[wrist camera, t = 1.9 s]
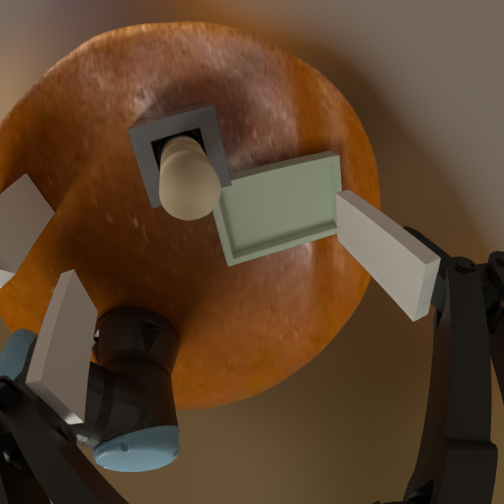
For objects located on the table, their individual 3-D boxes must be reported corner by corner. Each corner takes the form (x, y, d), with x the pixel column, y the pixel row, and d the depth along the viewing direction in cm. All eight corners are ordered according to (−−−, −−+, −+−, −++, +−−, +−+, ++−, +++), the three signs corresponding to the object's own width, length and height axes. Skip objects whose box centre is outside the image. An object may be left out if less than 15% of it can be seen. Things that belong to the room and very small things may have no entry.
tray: (224, 256, 46) (228, 266, 44) (204, 180, 40) (207, 187, 37) (335, 223, 48) (343, 231, 46) (329, 150, 42) (339, 155, 40)
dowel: (166, 168, 37) (169, 227, 22) (157, 135, 34) (151, 172, 20) (201, 158, 37) (226, 210, 23) (193, 124, 35) (213, 154, 21)
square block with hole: (154, 188, 38) (152, 208, 33) (134, 122, 33) (127, 130, 28) (221, 168, 39) (232, 185, 34) (206, 101, 35) (214, 105, 29)
